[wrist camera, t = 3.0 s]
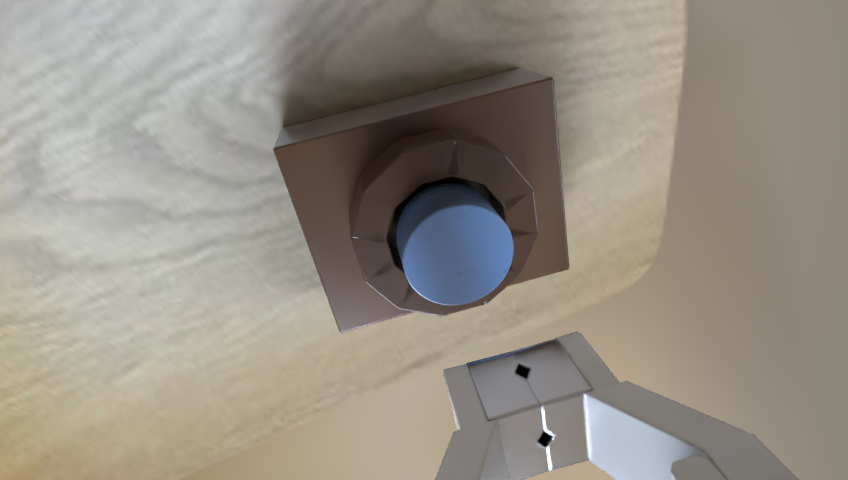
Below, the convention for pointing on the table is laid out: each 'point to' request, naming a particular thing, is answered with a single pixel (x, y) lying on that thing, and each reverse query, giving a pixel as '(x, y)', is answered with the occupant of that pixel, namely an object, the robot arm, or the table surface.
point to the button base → (425, 185)
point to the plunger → (453, 244)
